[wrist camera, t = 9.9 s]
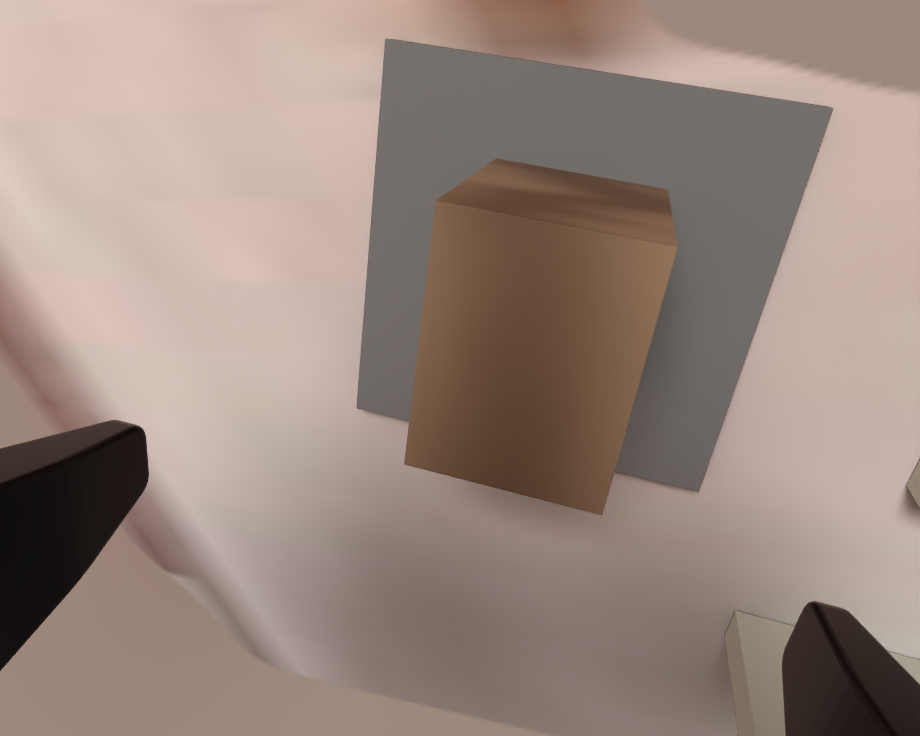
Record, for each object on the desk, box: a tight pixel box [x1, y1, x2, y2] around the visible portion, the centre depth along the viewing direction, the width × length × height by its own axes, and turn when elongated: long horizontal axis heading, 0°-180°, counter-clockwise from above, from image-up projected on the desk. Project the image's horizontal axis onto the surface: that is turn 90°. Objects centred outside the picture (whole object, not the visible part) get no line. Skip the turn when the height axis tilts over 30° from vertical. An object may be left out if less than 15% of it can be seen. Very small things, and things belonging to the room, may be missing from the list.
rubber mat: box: [357, 39, 833, 492], centre depth 20 cm, size 11×11×1 cm
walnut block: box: [404, 158, 678, 515], centre depth 17 cm, size 4×6×6 cm
